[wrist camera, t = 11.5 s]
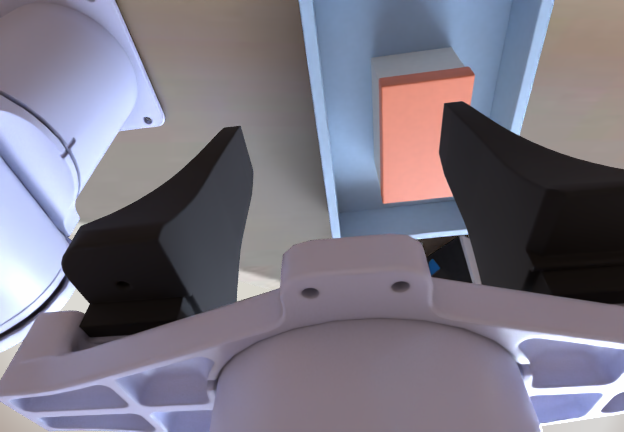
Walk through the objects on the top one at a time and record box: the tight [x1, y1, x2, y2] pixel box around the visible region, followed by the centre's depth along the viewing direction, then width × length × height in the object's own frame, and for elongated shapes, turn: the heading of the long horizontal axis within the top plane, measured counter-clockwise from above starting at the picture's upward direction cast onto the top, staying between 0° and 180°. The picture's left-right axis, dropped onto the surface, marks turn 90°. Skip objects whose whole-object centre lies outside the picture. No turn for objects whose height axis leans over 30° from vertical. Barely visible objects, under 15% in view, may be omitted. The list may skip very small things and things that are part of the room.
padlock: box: [427, 235, 482, 285], centre depth 30 cm, size 7×4×15 cm, turn 150°
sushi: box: [371, 47, 475, 204], centre depth 23 cm, size 4×8×4 cm, turn 8°
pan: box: [299, 0, 554, 239], centre depth 24 cm, size 11×17×4 cm, turn 8°
